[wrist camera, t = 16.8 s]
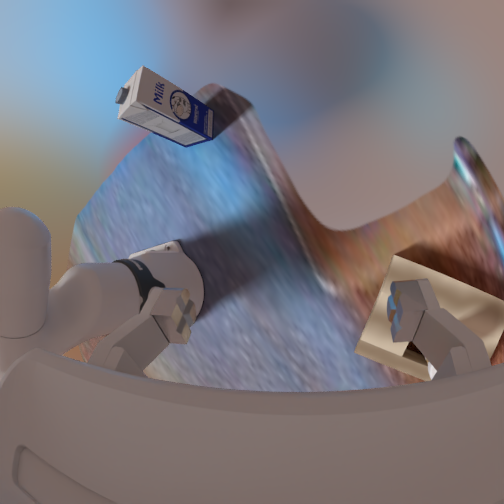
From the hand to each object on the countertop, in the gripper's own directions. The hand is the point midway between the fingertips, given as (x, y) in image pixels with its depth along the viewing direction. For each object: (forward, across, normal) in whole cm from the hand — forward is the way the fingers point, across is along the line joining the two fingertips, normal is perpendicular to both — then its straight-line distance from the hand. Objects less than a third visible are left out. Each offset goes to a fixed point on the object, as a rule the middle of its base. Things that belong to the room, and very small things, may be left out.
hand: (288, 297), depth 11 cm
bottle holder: (+16, -19, +24) cm, 35 cm away
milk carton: (+47, +19, +1) cm, 51 cm away
